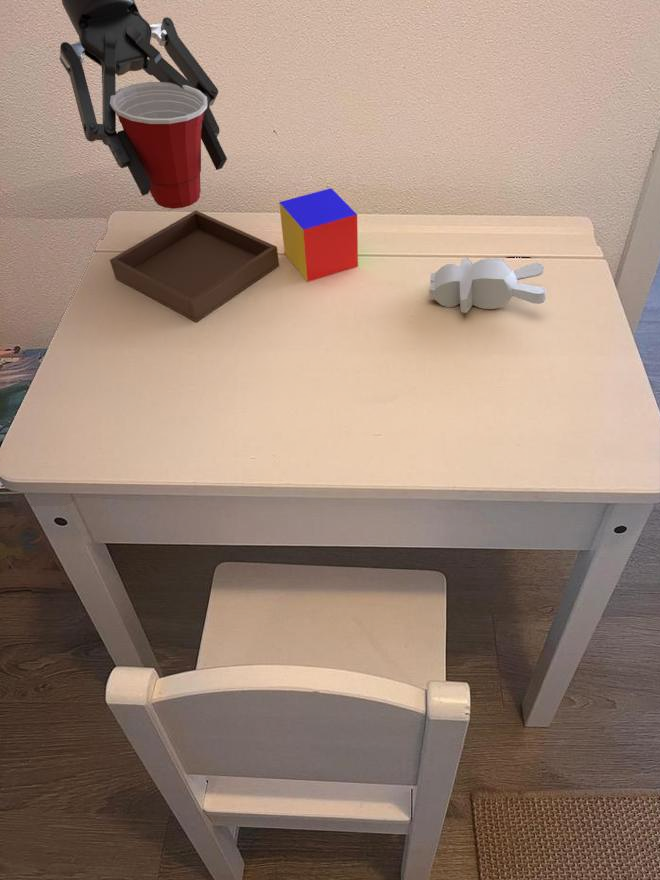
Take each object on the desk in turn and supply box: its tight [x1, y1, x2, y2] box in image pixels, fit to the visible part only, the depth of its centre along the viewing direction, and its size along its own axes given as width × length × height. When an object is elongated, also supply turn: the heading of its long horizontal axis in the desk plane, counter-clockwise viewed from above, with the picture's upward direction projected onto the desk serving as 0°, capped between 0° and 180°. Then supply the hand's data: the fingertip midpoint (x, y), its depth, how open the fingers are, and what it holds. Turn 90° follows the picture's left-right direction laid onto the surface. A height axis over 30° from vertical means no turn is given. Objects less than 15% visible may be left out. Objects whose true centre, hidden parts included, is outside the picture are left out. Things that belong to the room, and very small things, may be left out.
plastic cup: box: [110, 81, 208, 210], centre depth 85 cm, size 11×11×12 cm
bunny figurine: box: [429, 257, 547, 314], centre depth 96 cm, size 10×5×15 cm
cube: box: [279, 187, 359, 282], centre depth 101 cm, size 8×8×8 cm
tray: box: [109, 209, 280, 323], centre depth 101 cm, size 16×16×3 cm
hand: (185, 177), depth 85 cm, fingers closed on plastic cup, 9 cm apart
